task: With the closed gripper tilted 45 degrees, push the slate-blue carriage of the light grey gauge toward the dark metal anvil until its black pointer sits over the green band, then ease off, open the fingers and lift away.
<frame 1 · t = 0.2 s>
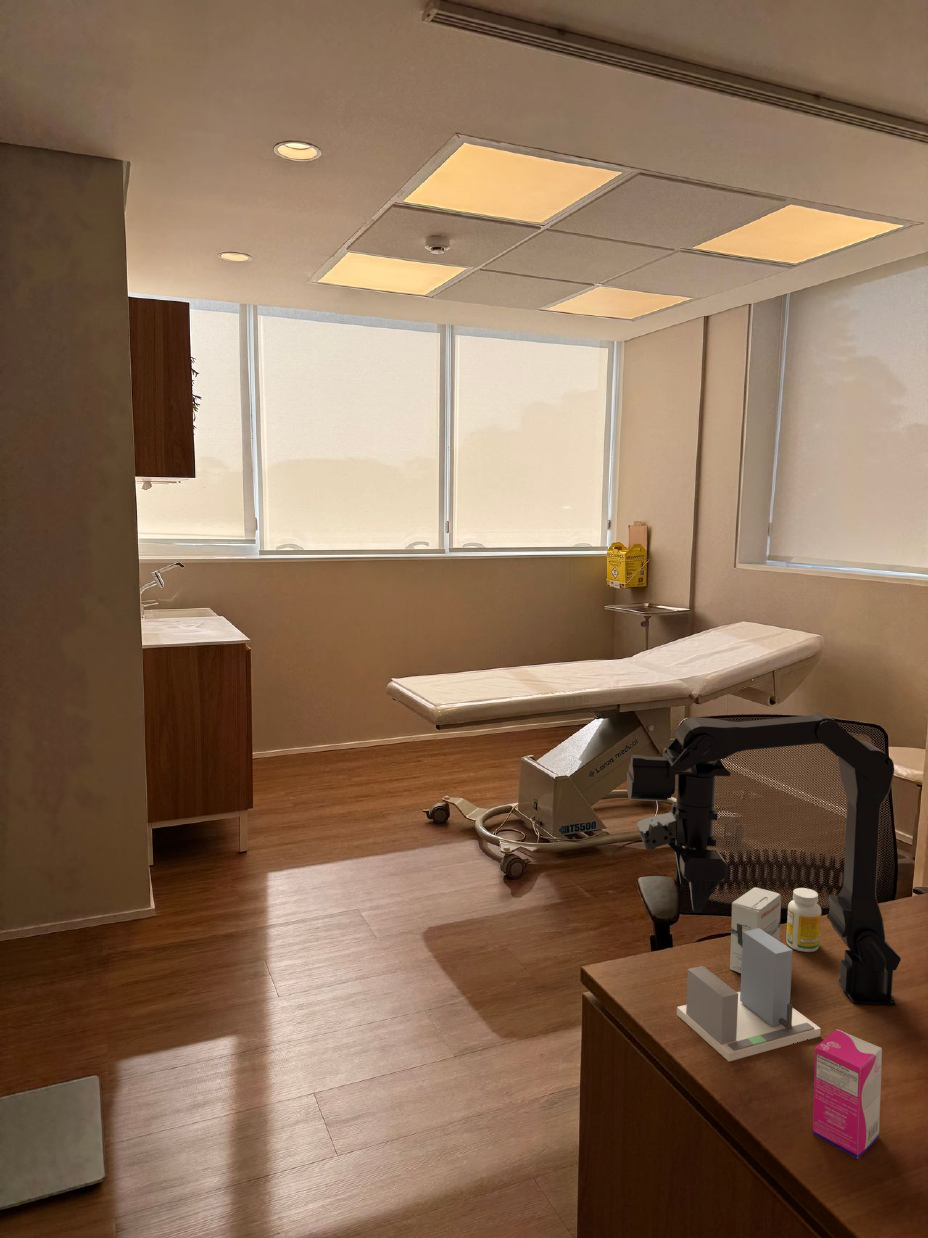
hand: (690, 898, 134), 15 cm above the table, tool pointing down, fingers open, 9 cm apart
ink box: (754, 966, 143), on the table
supplement bottle: (802, 946, 150), on the table
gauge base: (747, 1025, 126), on the table
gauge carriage: (770, 979, 126), point 7 cm above the table, slide at 0.0 cm
supplement box: (844, 1137, 104), on the table
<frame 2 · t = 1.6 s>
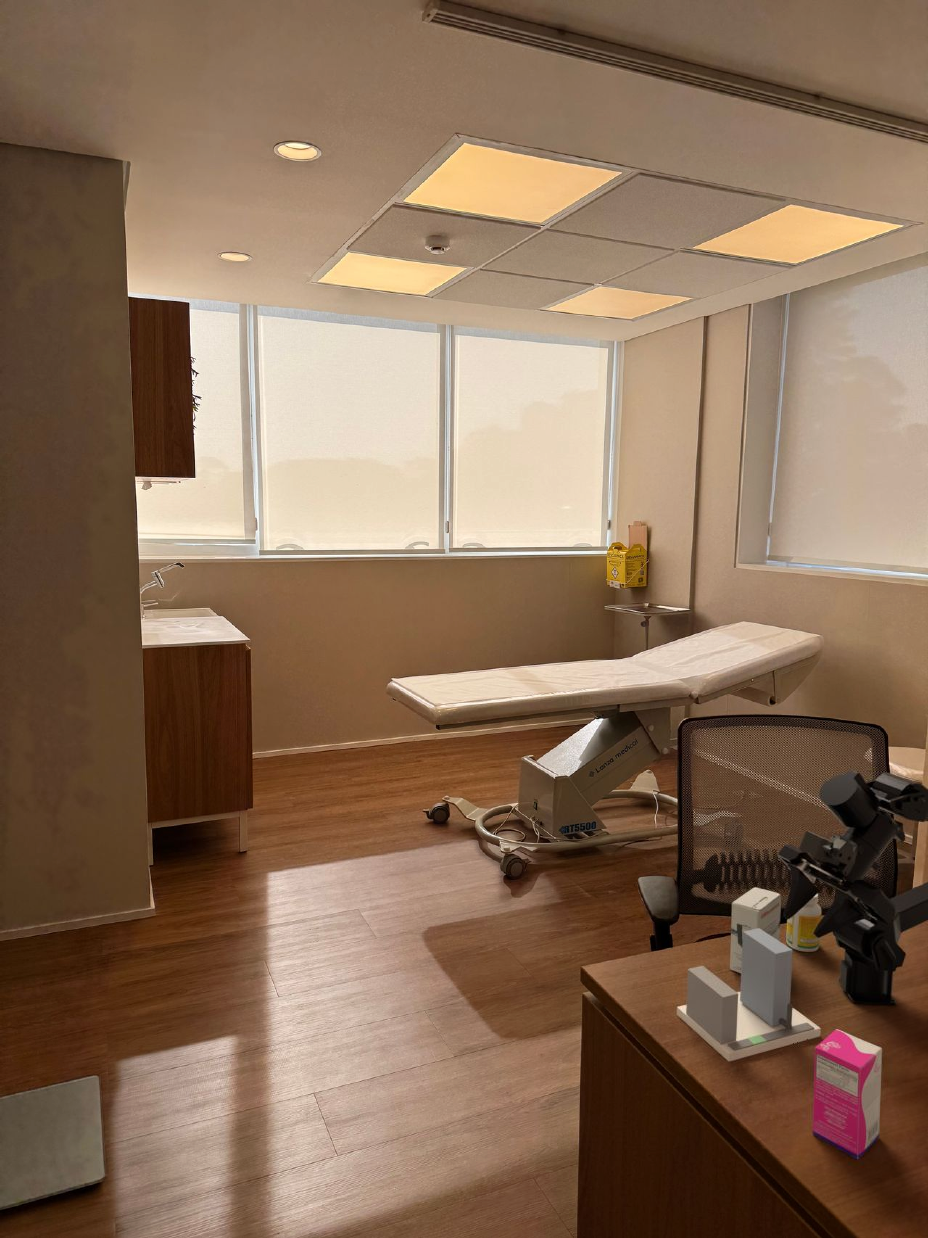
hand: (800, 926, 128), 14 cm above the table, tool tilted 45°, fingers open, 6 cm apart
nothing on the table moved.
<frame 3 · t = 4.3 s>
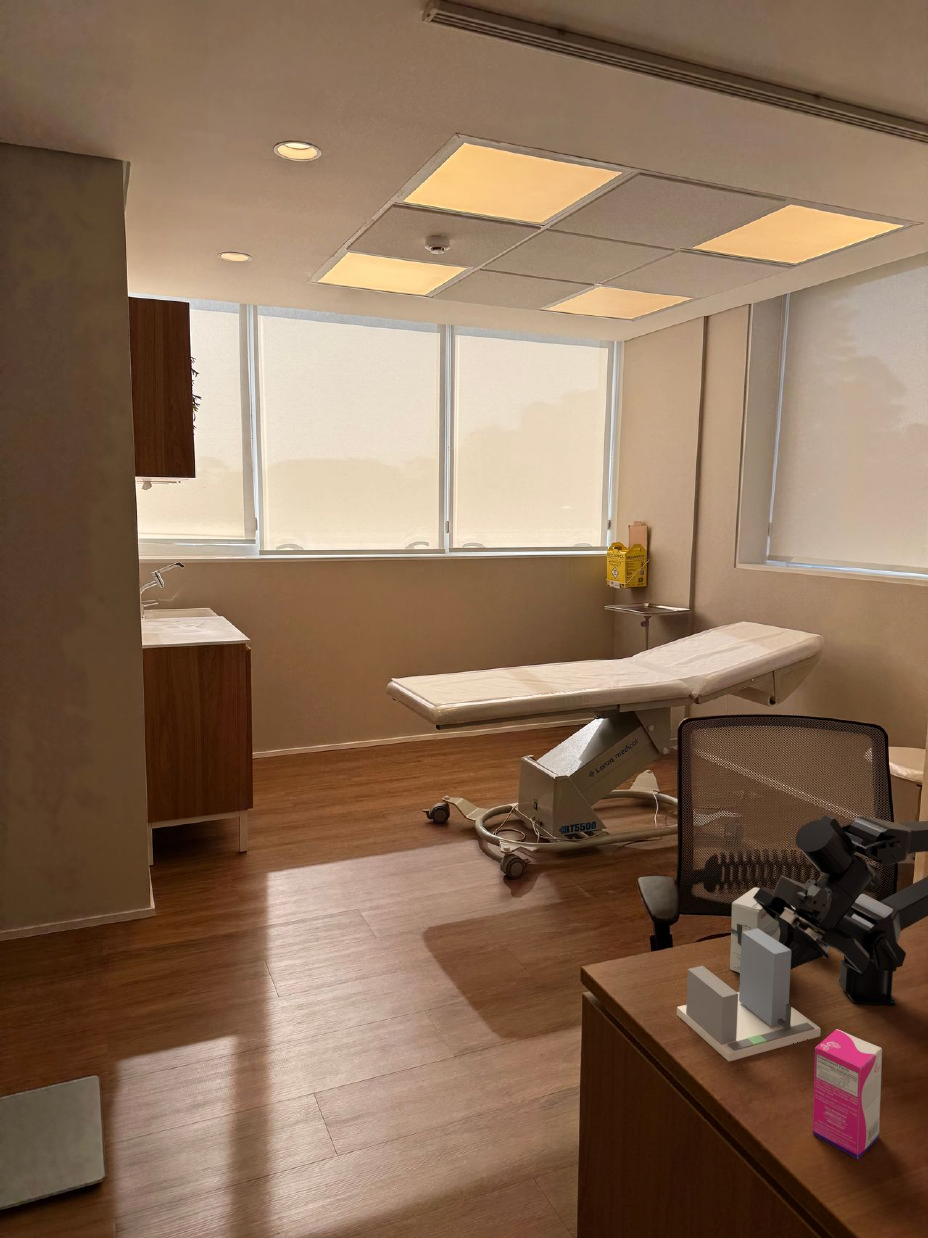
hand: (774, 972, 127), 7 cm above the table, tool tilted 45°, fingers closed, pressing on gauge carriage
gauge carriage: (768, 979, 126), point 7 cm above the table, slide at 0.2 cm, touching gripper
everything else where it was.
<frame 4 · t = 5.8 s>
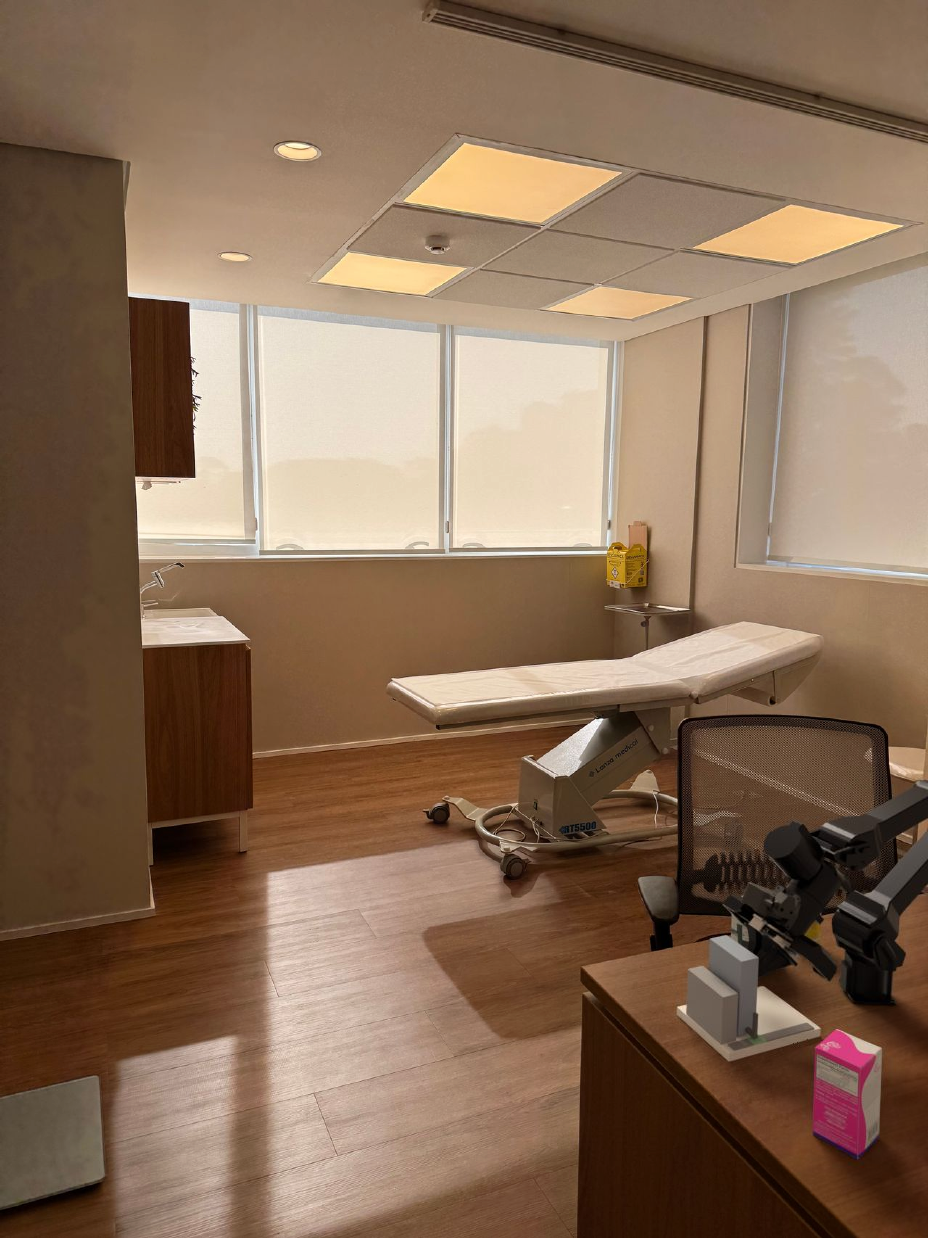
hand: (742, 981, 125), 7 cm above the table, tool tilted 45°, fingers closed, pressing on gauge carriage
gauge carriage: (736, 987, 123), point 7 cm above the table, slide at 6.0 cm, touching gripper
everything else where it was.
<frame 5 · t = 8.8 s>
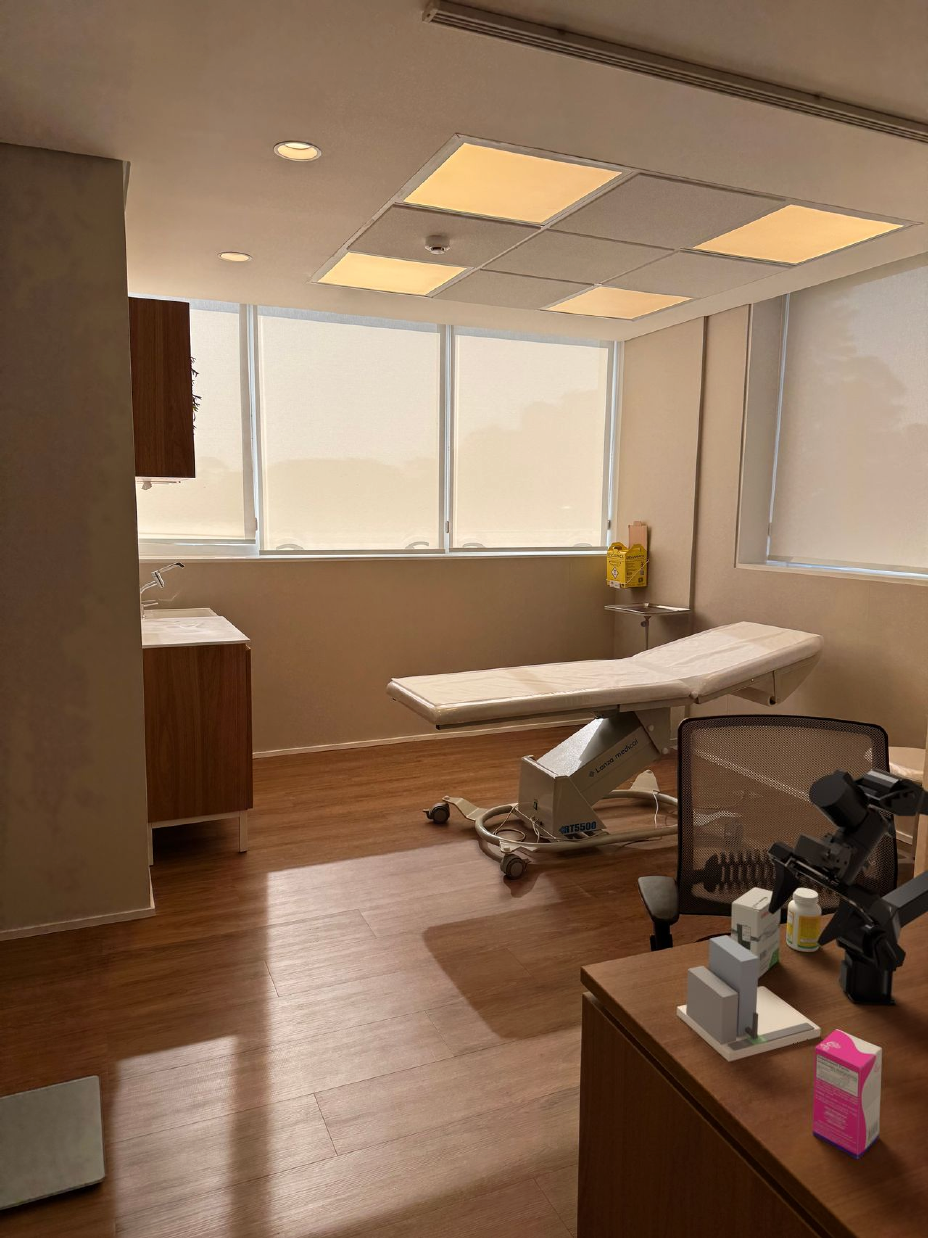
hand: (794, 928, 128), 14 cm above the table, tool tilted 40°, fingers open, 9 cm apart
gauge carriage: (736, 987, 123), point 7 cm above the table, slide at 6.0 cm
everything else where it was.
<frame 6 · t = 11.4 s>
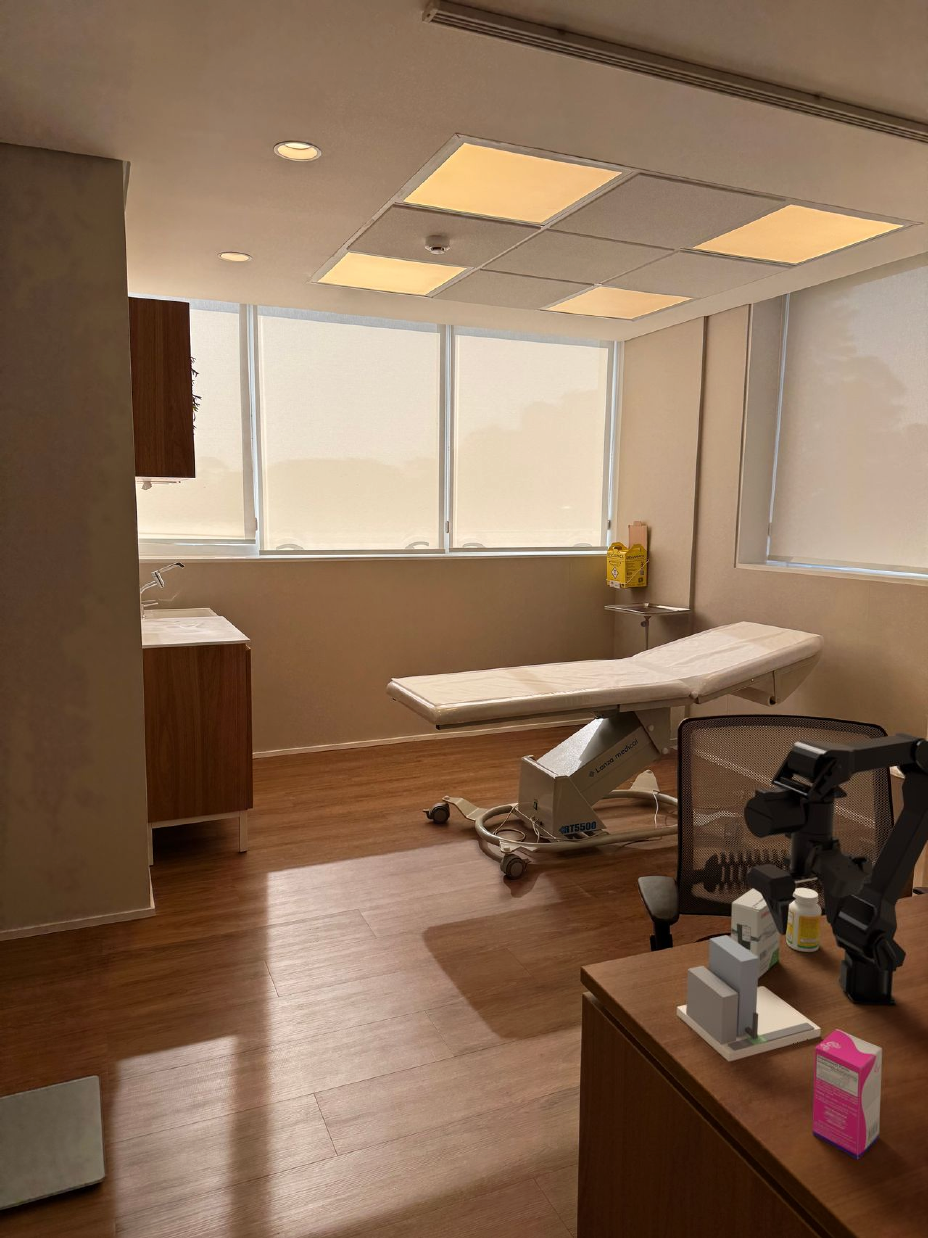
hand: (806, 928, 128), 13 cm above the table, tool pointing down, fingers open, 9 cm apart
nothing on the table moved.
at the end: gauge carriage slide at 6.0 cm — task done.
